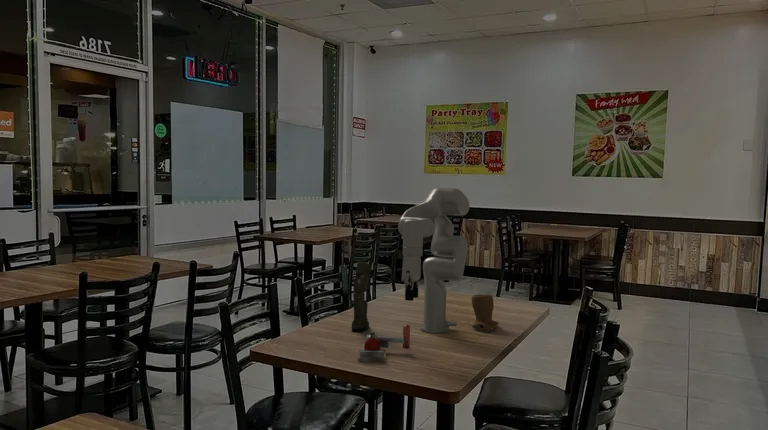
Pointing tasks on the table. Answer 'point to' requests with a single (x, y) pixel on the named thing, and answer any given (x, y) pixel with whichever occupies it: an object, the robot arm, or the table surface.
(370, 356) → the base
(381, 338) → the lever
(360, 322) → the mechanical leg
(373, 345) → the onion
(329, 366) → the table surface
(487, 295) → the brown boot
